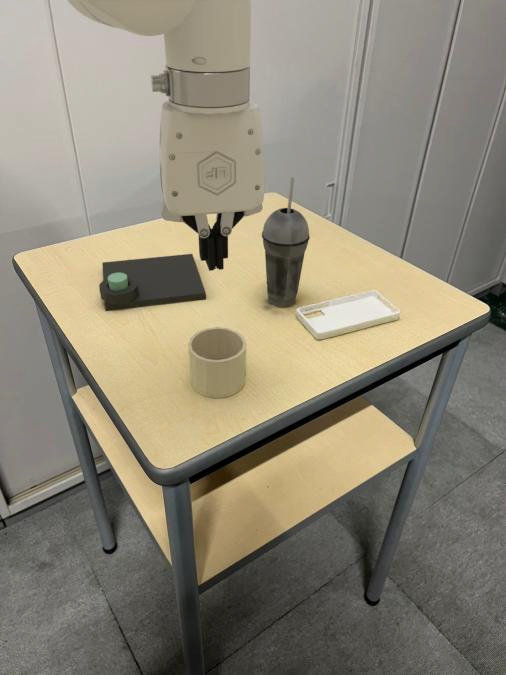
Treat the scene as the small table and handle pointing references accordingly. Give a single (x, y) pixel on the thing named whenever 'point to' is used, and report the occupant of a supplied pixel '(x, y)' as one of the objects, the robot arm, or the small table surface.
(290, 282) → the beverage cup
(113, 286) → the button
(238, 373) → the beige cup
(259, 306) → the small table surface
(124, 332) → the small table surface
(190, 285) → the scale
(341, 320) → the phone case
